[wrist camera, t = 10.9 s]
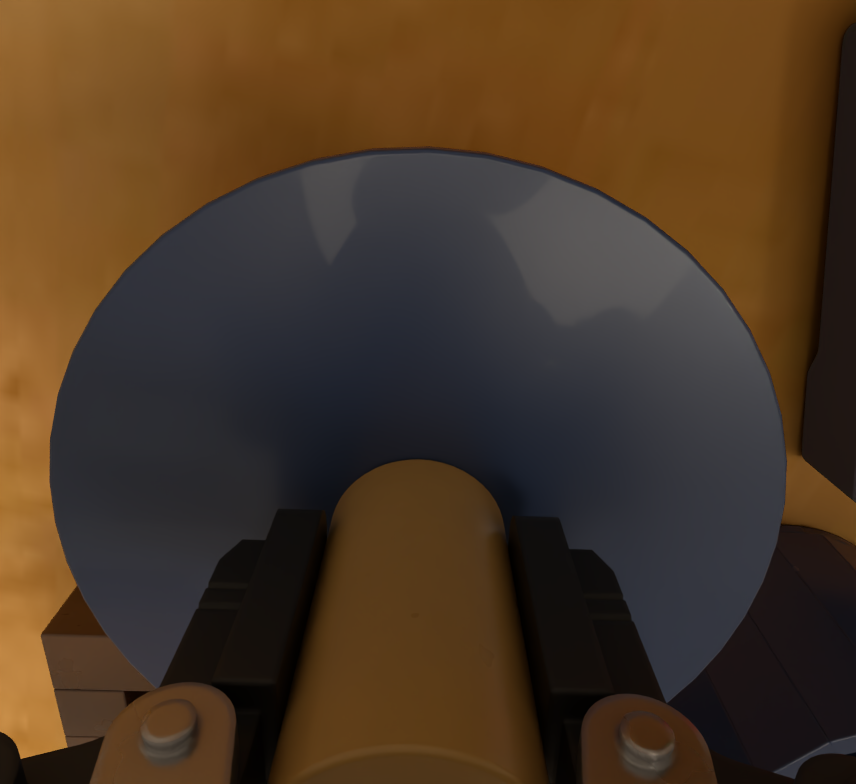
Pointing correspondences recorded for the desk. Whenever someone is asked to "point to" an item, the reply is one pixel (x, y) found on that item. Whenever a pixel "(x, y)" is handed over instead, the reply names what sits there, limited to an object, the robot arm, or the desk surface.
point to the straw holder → (87, 672)
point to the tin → (786, 662)
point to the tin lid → (418, 442)
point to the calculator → (837, 307)
